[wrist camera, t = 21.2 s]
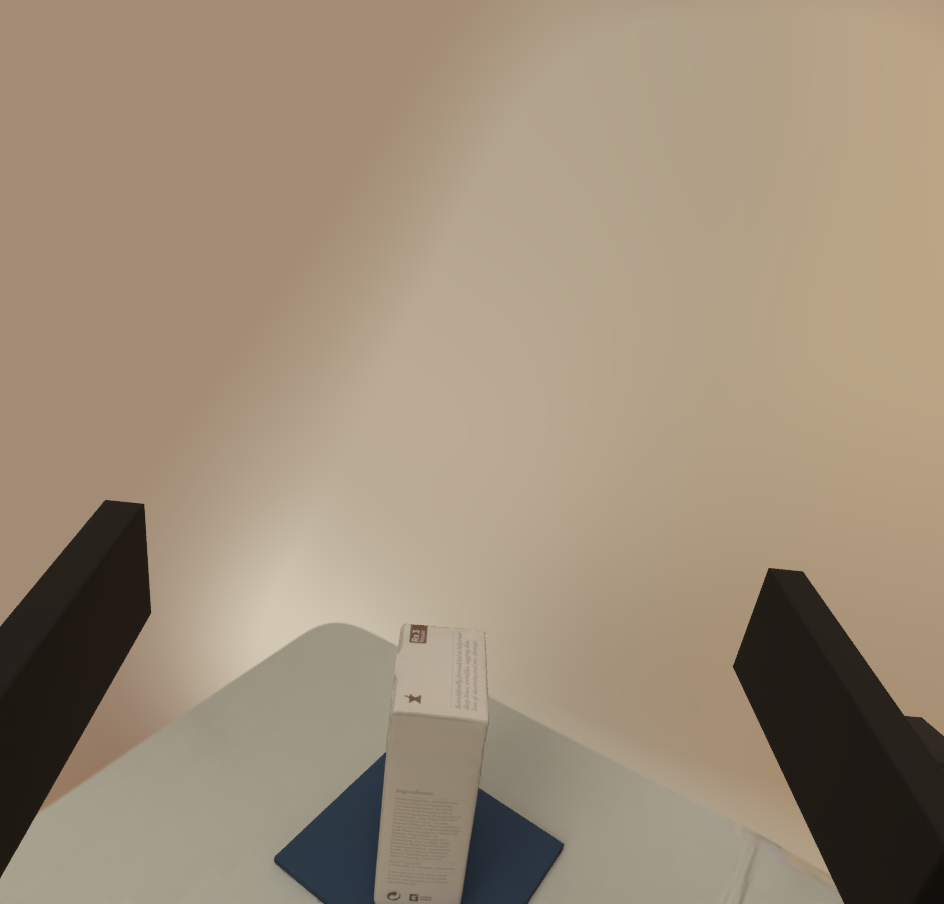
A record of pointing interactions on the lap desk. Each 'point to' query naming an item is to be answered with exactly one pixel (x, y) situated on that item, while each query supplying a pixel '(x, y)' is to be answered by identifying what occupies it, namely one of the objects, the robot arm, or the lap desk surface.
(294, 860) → the blue mat
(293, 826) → the lap desk surface
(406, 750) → the cosmetic box
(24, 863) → the lap desk surface
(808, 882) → the lap desk surface
